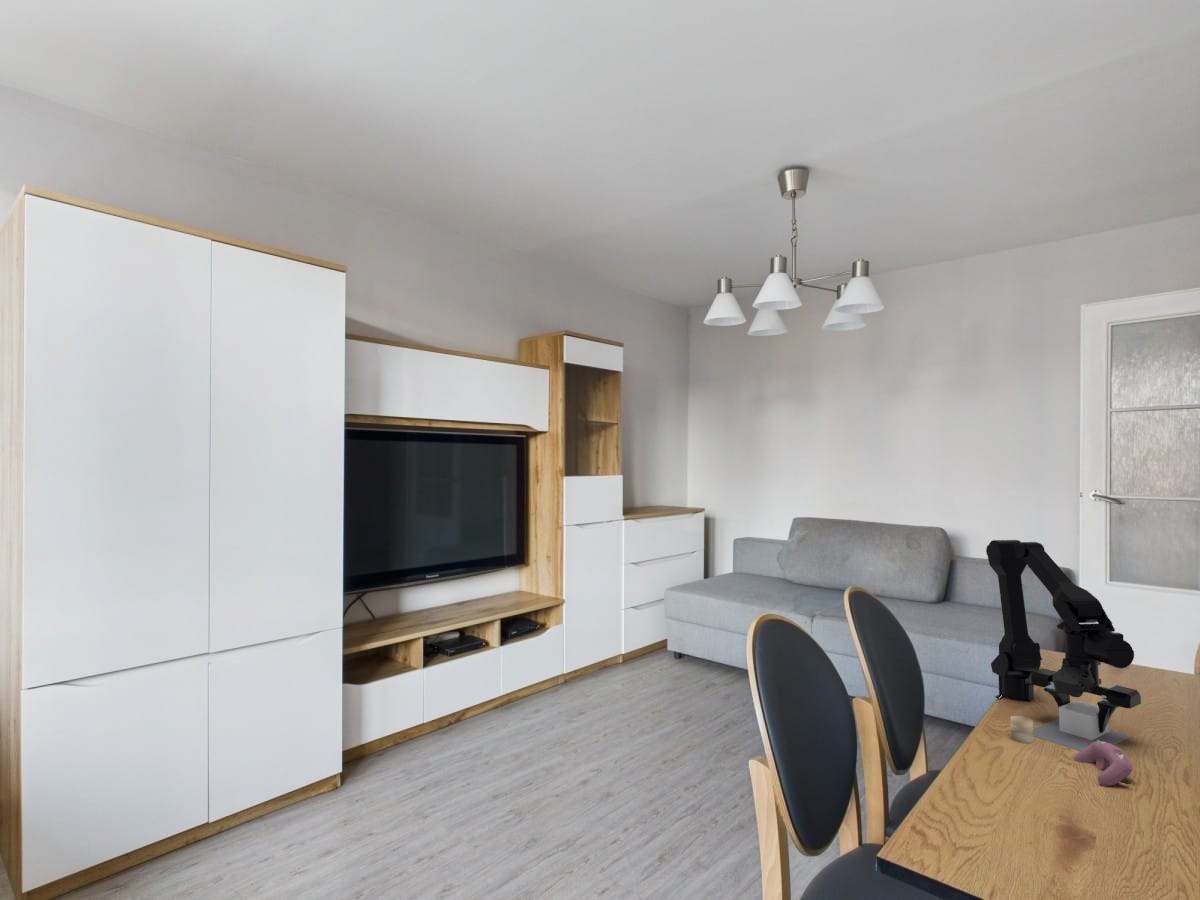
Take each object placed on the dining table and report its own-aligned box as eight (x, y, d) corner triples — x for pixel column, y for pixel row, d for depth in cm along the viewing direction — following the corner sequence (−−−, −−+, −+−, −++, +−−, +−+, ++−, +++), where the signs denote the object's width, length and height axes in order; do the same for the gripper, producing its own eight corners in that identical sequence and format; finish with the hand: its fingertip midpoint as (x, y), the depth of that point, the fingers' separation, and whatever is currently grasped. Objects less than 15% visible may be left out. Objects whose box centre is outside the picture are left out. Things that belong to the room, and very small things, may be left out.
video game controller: (1124, 797, 116) (1143, 763, 115) (1098, 784, 116) (1116, 750, 116) (1093, 772, 125) (1111, 741, 125) (1069, 760, 126) (1086, 728, 126)
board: (1023, 737, 138) (1023, 733, 138) (1061, 720, 147) (1061, 716, 147) (1094, 759, 127) (1094, 755, 127) (1131, 740, 136) (1130, 736, 136)
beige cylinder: (1007, 742, 136) (1006, 718, 136) (1017, 738, 138) (1016, 714, 138) (1028, 749, 132) (1027, 724, 133) (1037, 744, 134) (1036, 720, 135)
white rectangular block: (1059, 730, 139) (1058, 707, 140) (1076, 722, 144) (1076, 700, 144) (1092, 740, 134) (1091, 715, 135) (1109, 731, 138) (1108, 708, 139)
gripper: (1016, 650, 143) (1018, 721, 143) (1117, 671, 127) (1120, 751, 127) (1040, 642, 149) (1043, 711, 149) (1140, 662, 133) (1143, 739, 133)
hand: (1084, 727), depth 139 cm, fingers closed on white rectangular block, 6 cm apart
